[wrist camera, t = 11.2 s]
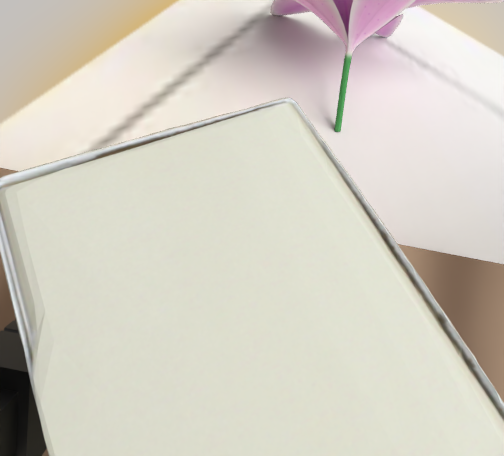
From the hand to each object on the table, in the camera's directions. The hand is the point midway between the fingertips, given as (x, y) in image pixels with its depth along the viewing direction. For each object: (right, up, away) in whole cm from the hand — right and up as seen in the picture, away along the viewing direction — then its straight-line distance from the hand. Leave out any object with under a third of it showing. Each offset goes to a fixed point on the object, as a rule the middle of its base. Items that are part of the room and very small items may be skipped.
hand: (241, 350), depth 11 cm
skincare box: (-1, -4, +4) cm, 6 cm away
